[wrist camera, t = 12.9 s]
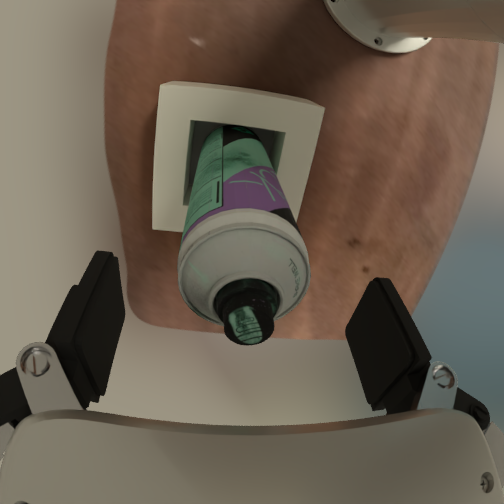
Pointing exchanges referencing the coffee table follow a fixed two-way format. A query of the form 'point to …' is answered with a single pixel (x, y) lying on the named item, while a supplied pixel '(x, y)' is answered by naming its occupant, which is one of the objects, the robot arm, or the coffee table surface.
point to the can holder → (219, 113)
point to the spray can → (240, 240)
